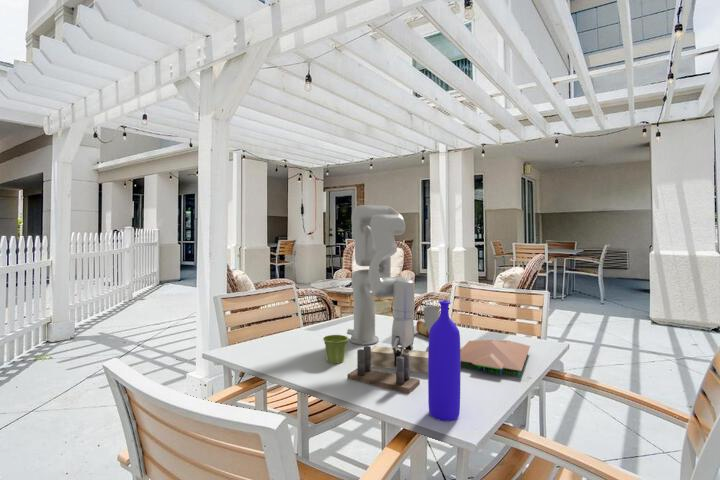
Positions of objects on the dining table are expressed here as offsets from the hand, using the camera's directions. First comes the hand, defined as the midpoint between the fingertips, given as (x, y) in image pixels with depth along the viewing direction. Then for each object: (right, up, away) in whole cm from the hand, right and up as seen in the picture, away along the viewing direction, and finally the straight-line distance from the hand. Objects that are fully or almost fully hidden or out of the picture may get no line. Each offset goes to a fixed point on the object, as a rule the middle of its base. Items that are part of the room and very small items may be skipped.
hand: (403, 363), depth 135 cm
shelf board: (0, -1, 0) cm, 1 cm away
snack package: (+19, -1, +38) cm, 42 cm away
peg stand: (-8, -1, -14) cm, 16 cm away
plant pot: (-25, -1, +6) cm, 25 cm away
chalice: (+13, -1, +16) cm, 20 cm away
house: (+34, -2, +6) cm, 34 cm away
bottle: (+7, -2, -35) cm, 36 cm away
